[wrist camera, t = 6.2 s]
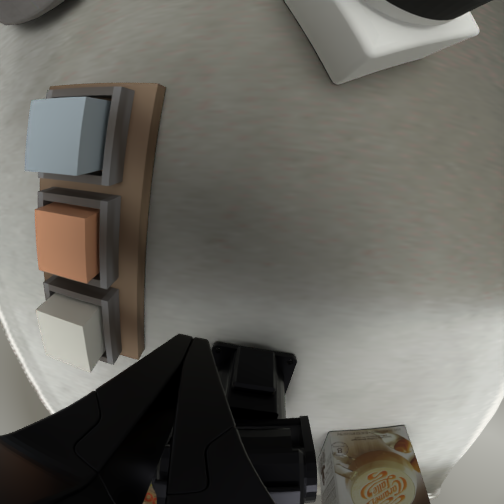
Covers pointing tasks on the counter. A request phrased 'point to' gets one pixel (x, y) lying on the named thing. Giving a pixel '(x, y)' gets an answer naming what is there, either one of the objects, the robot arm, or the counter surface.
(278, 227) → the counter surface
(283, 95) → the counter surface
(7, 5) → the coffee pot
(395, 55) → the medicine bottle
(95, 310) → the white button
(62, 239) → the terracotta button
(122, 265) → the button panel
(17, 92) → the counter surface
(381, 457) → the coffee box
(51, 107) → the slate button
